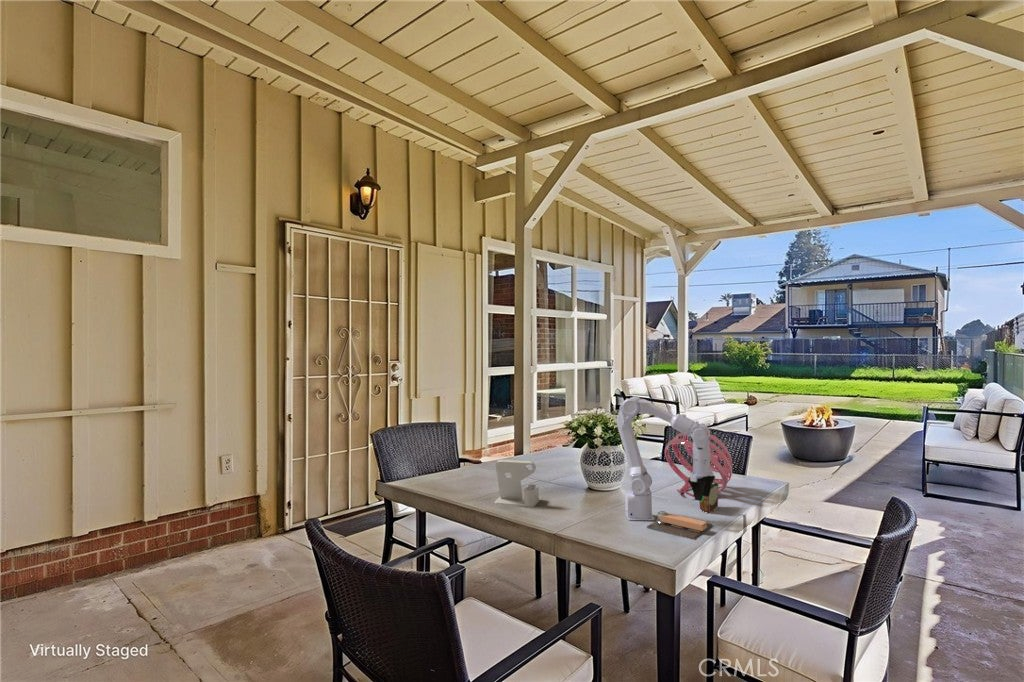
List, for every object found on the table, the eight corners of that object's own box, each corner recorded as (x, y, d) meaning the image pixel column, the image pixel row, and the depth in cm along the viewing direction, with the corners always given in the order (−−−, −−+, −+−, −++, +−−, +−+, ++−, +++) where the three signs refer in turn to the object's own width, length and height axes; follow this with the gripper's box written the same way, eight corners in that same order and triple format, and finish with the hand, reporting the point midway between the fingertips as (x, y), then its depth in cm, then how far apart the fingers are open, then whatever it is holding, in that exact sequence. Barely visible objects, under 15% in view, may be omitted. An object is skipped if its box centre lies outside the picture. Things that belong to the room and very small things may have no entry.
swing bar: (655, 520, 182) (655, 512, 182) (660, 517, 185) (660, 509, 185) (702, 531, 170) (702, 522, 170) (707, 528, 173) (706, 519, 173)
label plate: (693, 539, 166) (693, 537, 166) (646, 527, 177) (646, 525, 177) (712, 526, 178) (712, 523, 178) (667, 516, 189) (667, 513, 189)
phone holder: (540, 499, 212) (539, 456, 212) (534, 507, 203) (534, 461, 203) (500, 497, 217) (500, 454, 217) (493, 504, 207) (492, 460, 208)
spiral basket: (679, 458, 197) (716, 413, 209) (637, 461, 222) (673, 421, 234) (723, 514, 198) (758, 467, 209) (677, 511, 223) (710, 469, 235)
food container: (703, 503, 203) (702, 478, 204) (719, 506, 200) (718, 480, 200) (691, 511, 194) (691, 485, 194) (708, 514, 190) (707, 487, 190)
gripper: (704, 464, 171) (705, 505, 171) (720, 457, 182) (721, 495, 182) (684, 461, 176) (685, 501, 176) (701, 454, 187) (701, 491, 187)
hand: (702, 498), depth 179 cm, fingers open, 6 cm apart
